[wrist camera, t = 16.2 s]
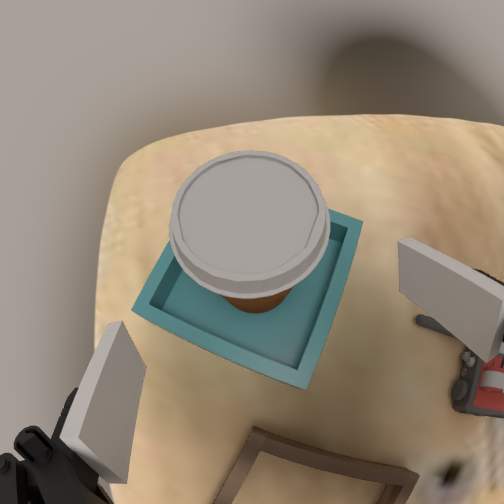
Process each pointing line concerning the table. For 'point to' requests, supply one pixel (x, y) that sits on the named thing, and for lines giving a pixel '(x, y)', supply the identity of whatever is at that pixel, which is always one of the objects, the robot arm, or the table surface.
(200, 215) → the disposable coffee cup
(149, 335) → the table surface
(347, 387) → the table surface
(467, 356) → the walkie-talkie
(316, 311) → the teal tray
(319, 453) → the walnut cup stand
